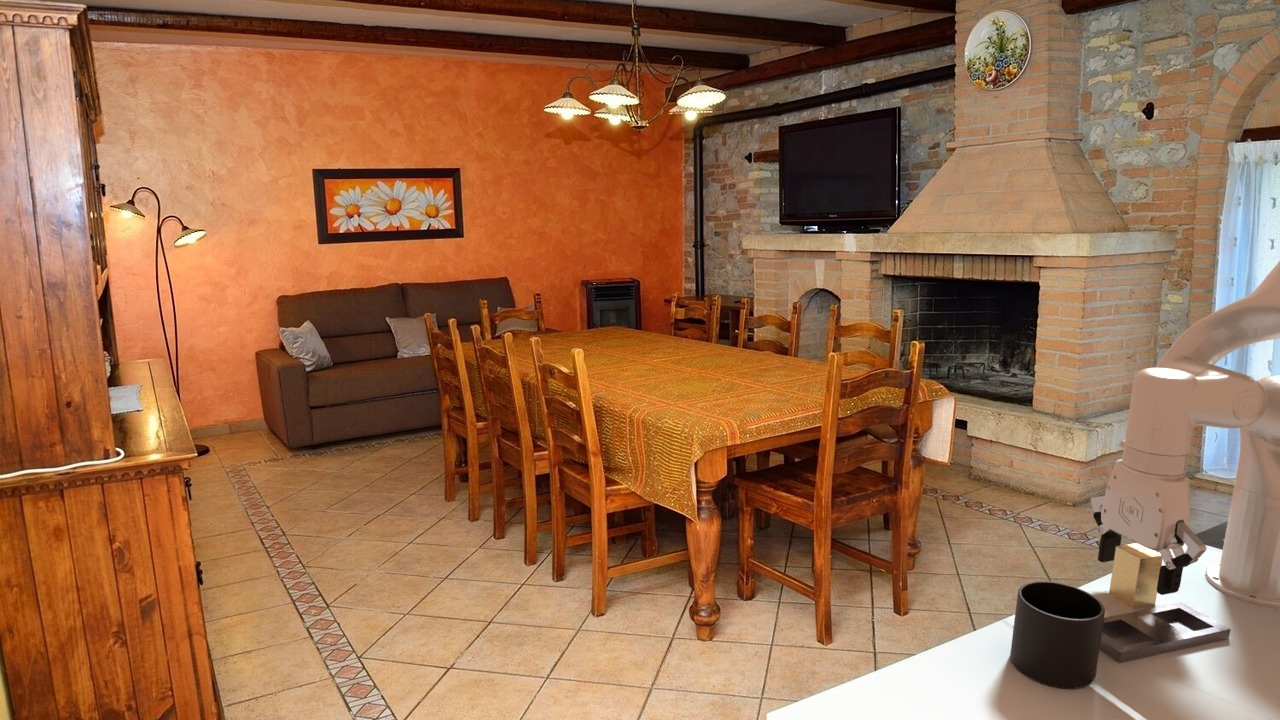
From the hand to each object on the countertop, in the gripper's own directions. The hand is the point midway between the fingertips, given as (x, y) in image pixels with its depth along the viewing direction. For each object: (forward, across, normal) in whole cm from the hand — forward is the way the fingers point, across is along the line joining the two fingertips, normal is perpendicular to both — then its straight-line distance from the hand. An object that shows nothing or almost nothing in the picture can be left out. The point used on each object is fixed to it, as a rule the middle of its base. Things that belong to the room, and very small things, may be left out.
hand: (1136, 575), depth 117 cm
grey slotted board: (+4, +8, -6) cm, 11 cm away
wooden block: (+4, 0, 0) cm, 4 cm away
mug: (+4, +9, -21) cm, 24 cm away
